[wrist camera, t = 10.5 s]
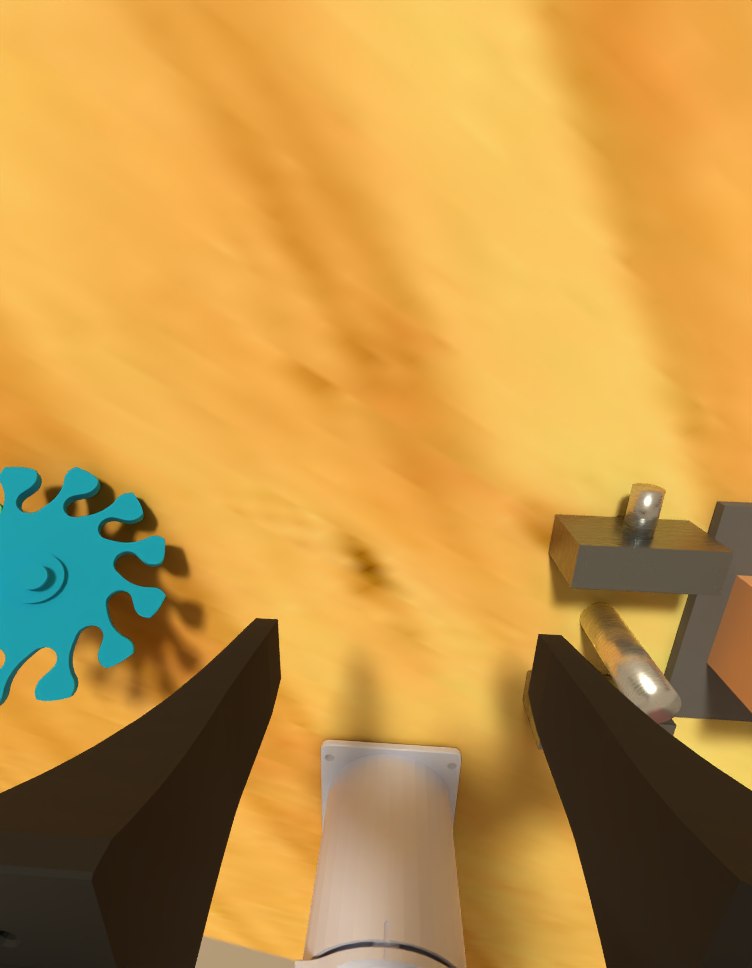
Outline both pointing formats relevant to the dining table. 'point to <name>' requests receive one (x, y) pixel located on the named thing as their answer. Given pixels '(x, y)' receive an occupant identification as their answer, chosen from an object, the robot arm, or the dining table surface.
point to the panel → (711, 627)
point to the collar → (735, 642)
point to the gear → (64, 578)
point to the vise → (634, 587)
